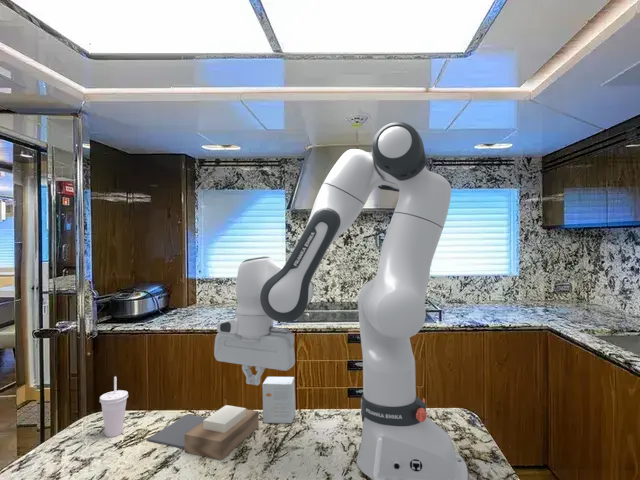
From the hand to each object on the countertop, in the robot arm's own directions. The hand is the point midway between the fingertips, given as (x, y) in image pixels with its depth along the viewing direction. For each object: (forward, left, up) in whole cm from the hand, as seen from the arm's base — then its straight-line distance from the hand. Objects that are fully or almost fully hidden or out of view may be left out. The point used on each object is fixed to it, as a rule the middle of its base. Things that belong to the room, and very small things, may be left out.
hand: (253, 383), depth 87 cm
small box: (0, -14, -15) cm, 20 cm away
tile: (+8, 0, -10) cm, 13 cm away
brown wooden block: (+8, 0, -14) cm, 17 cm away
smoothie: (+36, +7, -15) cm, 40 cm away
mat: (+19, 0, -14) cm, 24 cm away
